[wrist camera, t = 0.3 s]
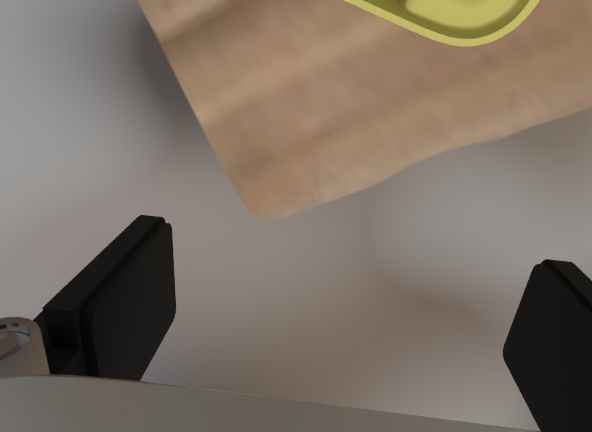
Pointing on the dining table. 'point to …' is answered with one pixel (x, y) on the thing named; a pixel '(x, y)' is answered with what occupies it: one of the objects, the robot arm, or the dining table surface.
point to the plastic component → (453, 17)
